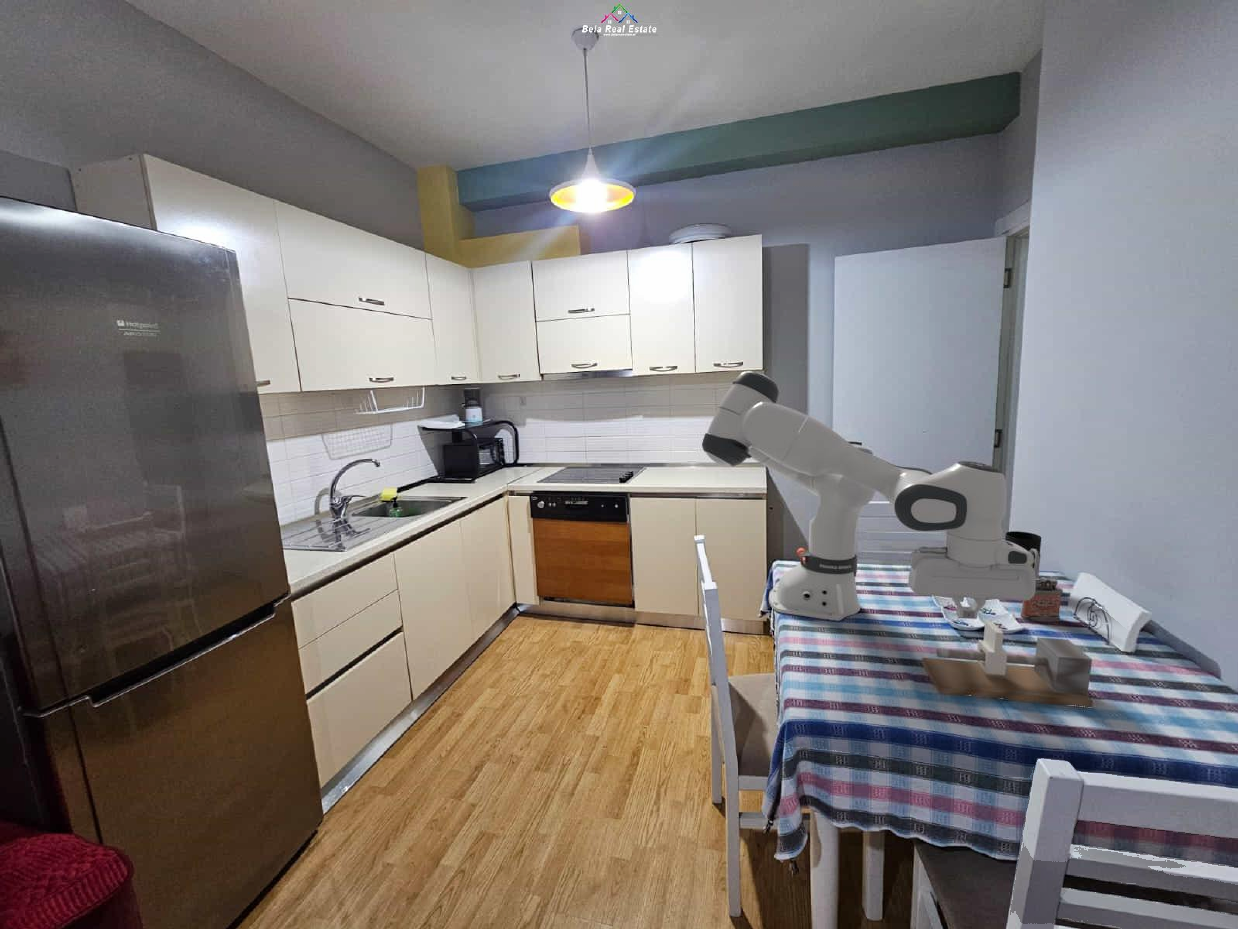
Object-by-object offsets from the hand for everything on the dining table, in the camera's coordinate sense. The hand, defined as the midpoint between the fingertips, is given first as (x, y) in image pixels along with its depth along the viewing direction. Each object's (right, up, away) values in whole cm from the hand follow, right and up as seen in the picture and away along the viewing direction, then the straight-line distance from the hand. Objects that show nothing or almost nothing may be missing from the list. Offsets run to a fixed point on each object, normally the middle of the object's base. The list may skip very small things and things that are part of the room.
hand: (966, 617), depth 98 cm
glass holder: (+41, -5, +38) cm, 56 cm away
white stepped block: (+5, -10, 0) cm, 11 cm away
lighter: (+34, -8, +25) cm, 43 cm away
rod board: (+7, -13, 0) cm, 15 cm away
